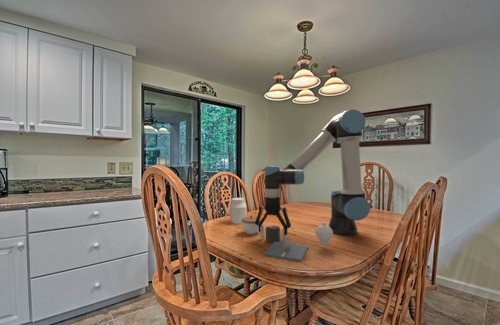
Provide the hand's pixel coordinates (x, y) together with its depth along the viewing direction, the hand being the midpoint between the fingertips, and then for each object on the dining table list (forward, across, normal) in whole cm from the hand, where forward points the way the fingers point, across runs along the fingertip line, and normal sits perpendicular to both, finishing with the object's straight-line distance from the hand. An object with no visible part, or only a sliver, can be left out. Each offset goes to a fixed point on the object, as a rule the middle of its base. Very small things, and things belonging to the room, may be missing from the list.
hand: (272, 240), depth 122 cm
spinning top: (0, -25, +2) cm, 25 cm away
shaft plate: (0, -10, +12) cm, 16 cm away
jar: (0, +32, -27) cm, 42 cm away
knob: (0, 0, 0) cm, 0 cm away
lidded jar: (0, +15, -8) cm, 17 cm away
